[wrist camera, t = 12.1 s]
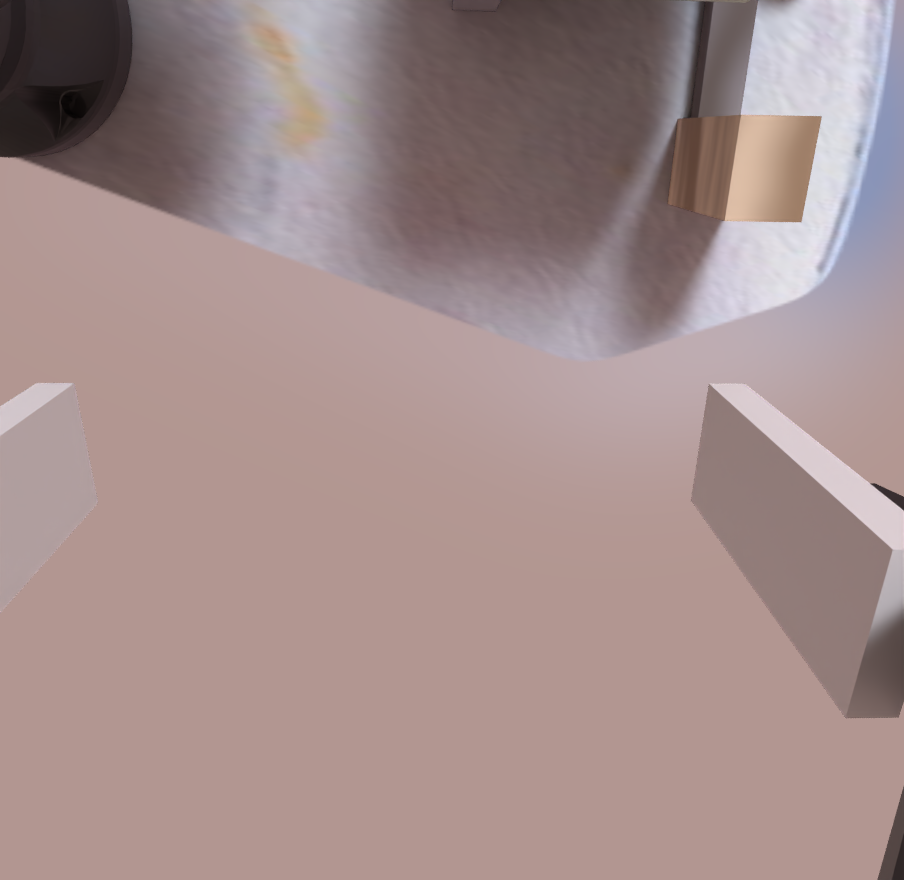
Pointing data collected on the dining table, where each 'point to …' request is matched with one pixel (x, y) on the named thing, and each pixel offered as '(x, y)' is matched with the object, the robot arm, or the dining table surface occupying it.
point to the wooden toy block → (738, 135)
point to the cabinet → (491, 0)
